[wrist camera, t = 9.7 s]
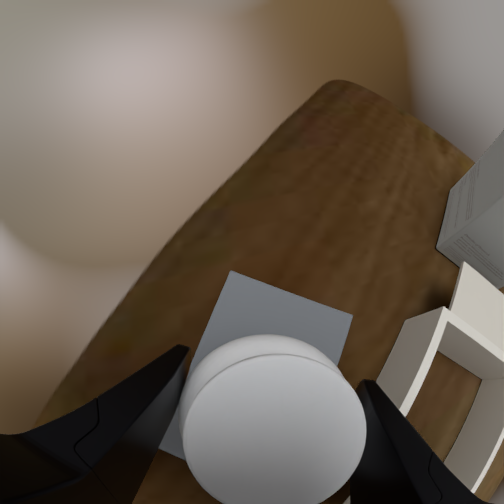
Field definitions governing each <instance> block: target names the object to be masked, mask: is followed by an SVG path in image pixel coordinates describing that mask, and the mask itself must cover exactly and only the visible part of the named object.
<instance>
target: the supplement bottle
mask: <svg viewBox="0 0 504 504" xmlns="http://www.w3.org/2000/svg"><path fill="white" fill-rule="evenodd" d="M178 423H179V429H180V433H181V437H182V440H183V449H184V454H185V458H186V461H187V464H188V467H189V469H190V470H191V472H192V474H193V476H194V477H195V479H196V480H197V481H198V483H199V484H200V485H201V486H202V488H203V489H204V490H206V491H207V492H208V493H209V494H210V495H211V496H212V497H214V498H215V499H217V500H218V501H220V502H221V503H223V504H319V503H321V502H323V501H324V500H326V499H327V498H329V497H330V496H332V495H333V494H334V493H335V492H337V491H338V490H339V489H340V488H341V487H342V486H343V485H344V484H345V483H346V482H347V480H348V479H349V478H350V477H351V475H352V474H353V472H354V471H355V469H356V468H357V466H358V464H359V462H360V459H361V457H362V454H363V451H364V447H365V441H366V419H365V414H364V410H363V407H362V404H361V402H360V400H359V398H358V396H357V394H356V392H355V391H354V390H353V388H352V387H351V386H350V384H349V383H348V382H347V381H346V380H345V379H344V377H343V375H342V373H341V372H340V370H339V369H338V368H337V366H336V365H335V364H334V363H333V362H332V361H331V360H330V359H329V358H328V357H327V356H326V355H325V354H323V353H322V352H321V351H320V350H318V349H317V348H315V347H313V346H312V345H310V344H308V343H306V342H303V341H301V340H298V339H295V338H292V337H288V336H283V335H275V334H261V335H252V336H246V337H242V338H239V339H235V340H233V341H230V342H228V343H226V344H224V345H222V346H220V347H218V348H217V349H215V350H213V351H212V352H211V353H209V354H208V355H207V356H206V357H205V358H204V359H202V360H201V361H200V362H199V363H198V365H197V366H196V367H195V368H194V370H193V371H192V372H191V374H190V376H189V377H188V379H187V381H186V383H185V385H184V387H183V390H182V393H181V396H180V401H179V407H178Z"/></svg>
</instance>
